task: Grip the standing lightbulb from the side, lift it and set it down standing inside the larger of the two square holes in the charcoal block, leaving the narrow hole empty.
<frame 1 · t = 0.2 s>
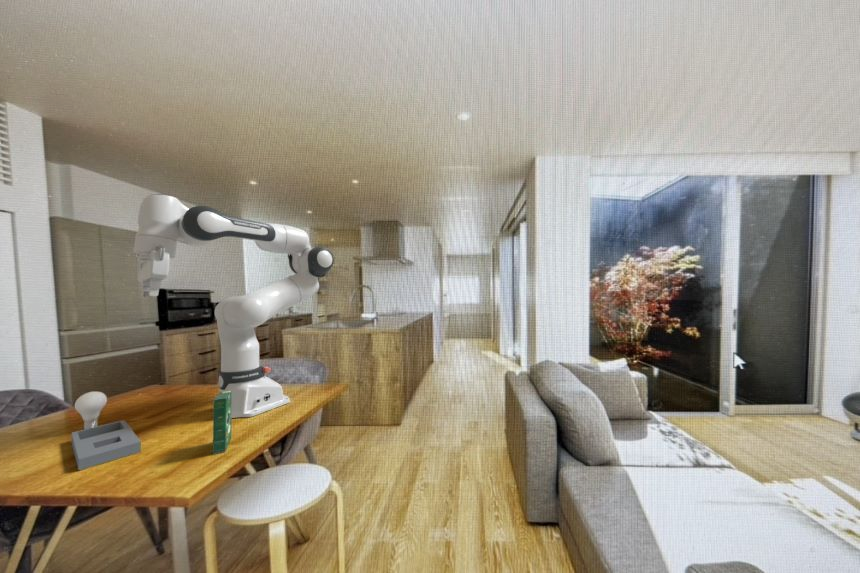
hand: (149, 296, 84), 39 cm above the table, tool pointing down, fingers open, 8 cm apart
hole board: (104, 446, 77), on the table
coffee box: (222, 447, 75), on the table
lightbulb: (90, 429, 88), on the table
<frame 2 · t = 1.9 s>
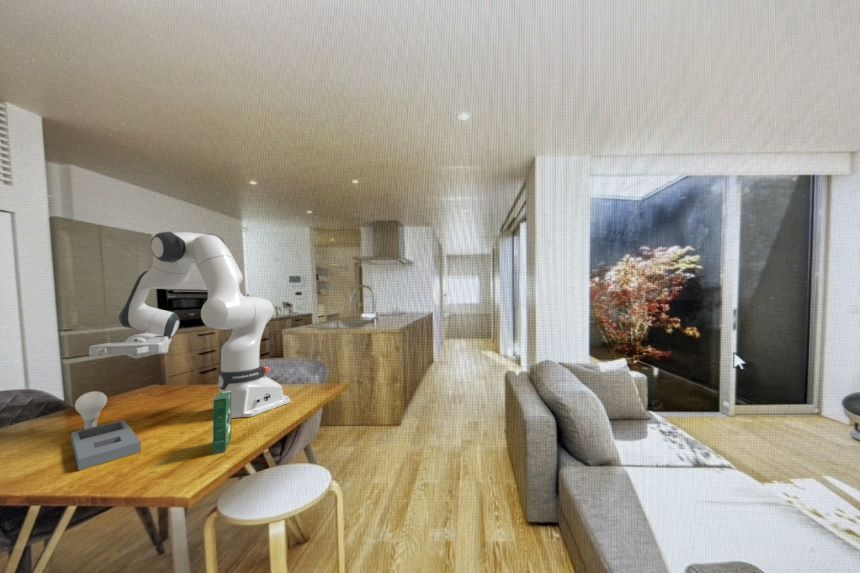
hand: (116, 352, 100), 21 cm above the table, tool horizontal, fingers open, 8 cm apart
nothing on the table moved.
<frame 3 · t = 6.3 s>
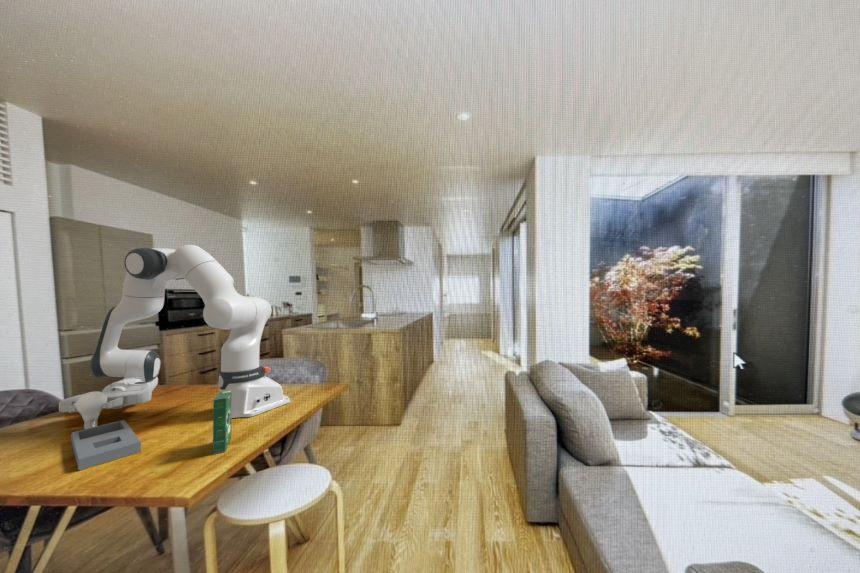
hand: (88, 407, 87), 7 cm above the table, tool horizontal, fingers closed on lightbulb, 6 cm apart
lightbulb: (90, 429, 88), on the table, touching gripper
everything else where it was.
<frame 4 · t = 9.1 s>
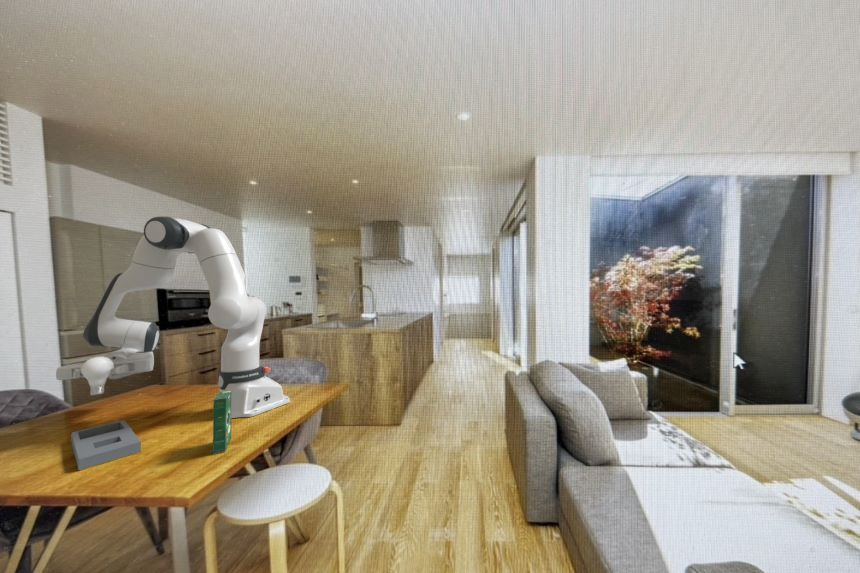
hand: (95, 373, 84), 18 cm above the table, tool horizontal, fingers closed on lightbulb, 6 cm apart
lightbulb: (97, 396, 84), point 11 cm above the table, touching gripper
everything else where it was.
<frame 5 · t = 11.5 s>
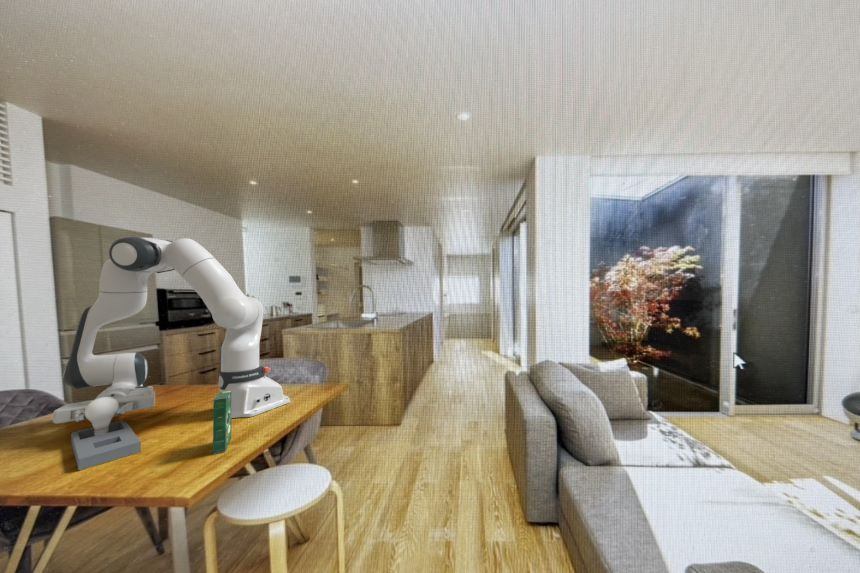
hand: (100, 414, 81), 7 cm above the table, tool horizontal, fingers closed on lightbulb, 6 cm apart
lightbulb: (101, 438, 81), resting in hole board, touching gripper
everything else where it was.
when the fingers open (7 cm above the table, at t = 12.1 s): lightbulb stays where it is, resting in hole board.
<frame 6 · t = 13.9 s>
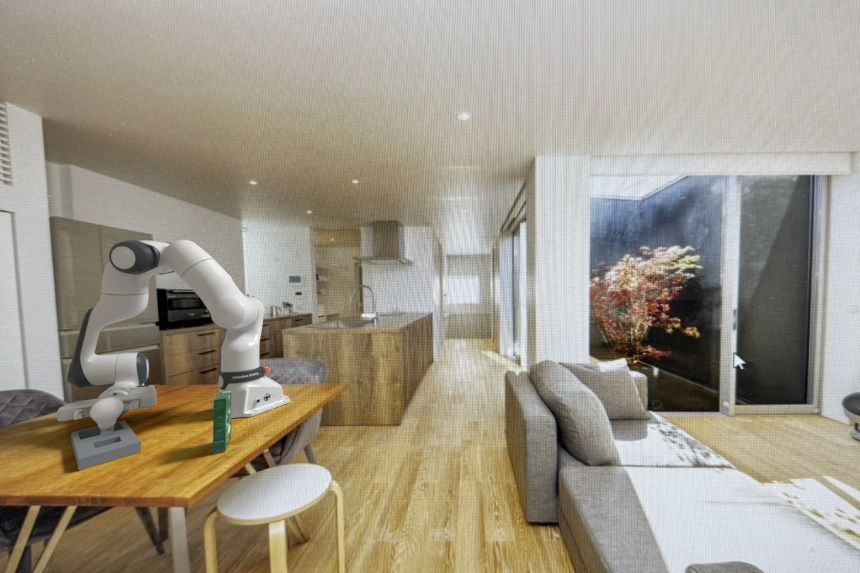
hand: (103, 412, 83), 7 cm above the table, tool horizontal, fingers open, 8 cm apart
lightbulb: (106, 439, 82), resting in hole board
everything else where it was.
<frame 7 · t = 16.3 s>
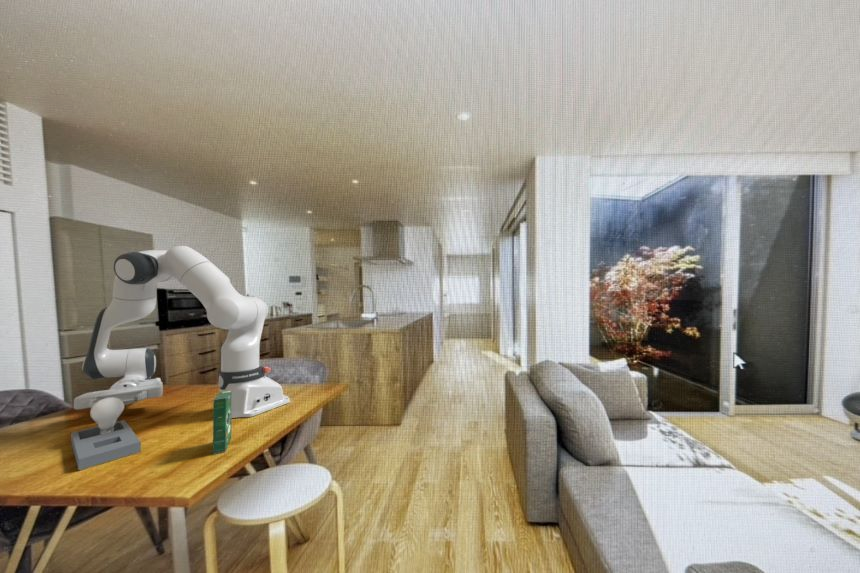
hand: (115, 401, 91), 7 cm above the table, tool horizontal, fingers open, 8 cm apart
nothing on the table moved.
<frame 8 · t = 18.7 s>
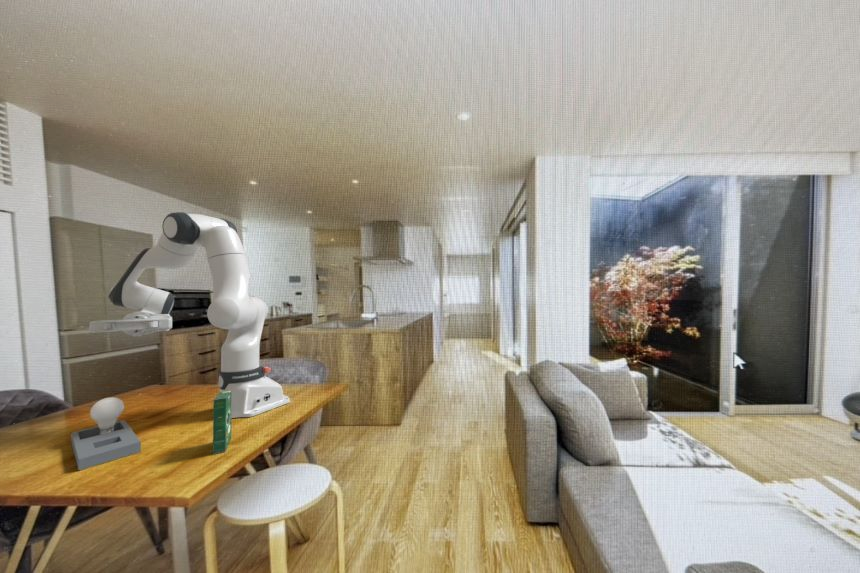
hand: (128, 325, 96), 30 cm above the table, tool horizontal, fingers open, 8 cm apart
nothing on the table moved.
at the end: lightbulb 1.0 cm from the target spot on the hole board, point 0.0 cm above the hole board's base; lightbulb tilted 0°; the gripper is holding nothing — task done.
